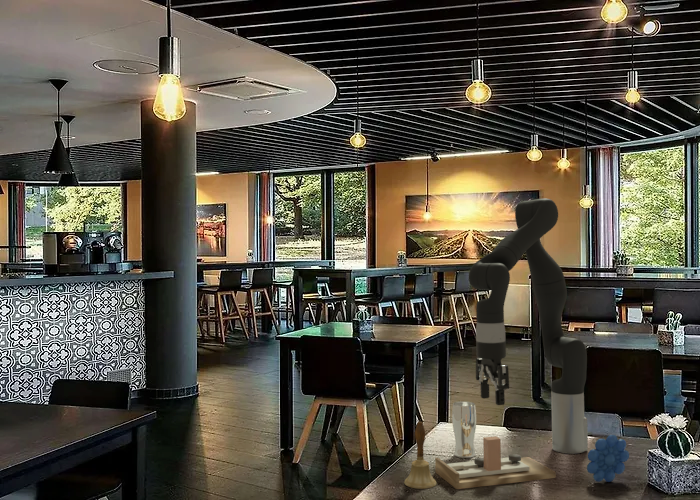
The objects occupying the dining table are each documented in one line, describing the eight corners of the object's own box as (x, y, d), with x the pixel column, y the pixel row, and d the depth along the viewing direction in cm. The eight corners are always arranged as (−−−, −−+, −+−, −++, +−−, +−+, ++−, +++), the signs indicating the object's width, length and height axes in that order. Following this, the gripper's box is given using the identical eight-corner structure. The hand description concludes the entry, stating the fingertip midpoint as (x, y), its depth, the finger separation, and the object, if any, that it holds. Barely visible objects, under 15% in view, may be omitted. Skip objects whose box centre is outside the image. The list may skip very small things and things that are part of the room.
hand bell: (438, 479, 184) (436, 418, 184) (434, 490, 176) (433, 426, 176) (406, 477, 186) (405, 417, 186) (401, 488, 178) (400, 425, 178)
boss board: (528, 462, 197) (528, 446, 197) (555, 477, 184) (555, 460, 183) (435, 472, 190) (435, 455, 190) (456, 489, 176) (456, 471, 176)
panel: (513, 460, 193) (512, 427, 193) (529, 470, 184) (528, 436, 184) (441, 468, 188) (441, 434, 188) (455, 478, 179) (454, 443, 179)
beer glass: (476, 459, 201) (475, 406, 201) (452, 458, 202) (451, 406, 202) (477, 452, 208) (476, 401, 208) (453, 451, 209) (452, 400, 209)
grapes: (619, 474, 185) (618, 429, 185) (634, 483, 178) (633, 435, 178) (579, 478, 183) (578, 432, 183) (592, 486, 176) (591, 439, 176)
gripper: (517, 342, 178) (518, 406, 178) (491, 335, 191) (492, 394, 192) (490, 343, 176) (491, 408, 176) (466, 337, 189) (467, 397, 190)
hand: (492, 401), depth 184 cm, fingers open, 8 cm apart
